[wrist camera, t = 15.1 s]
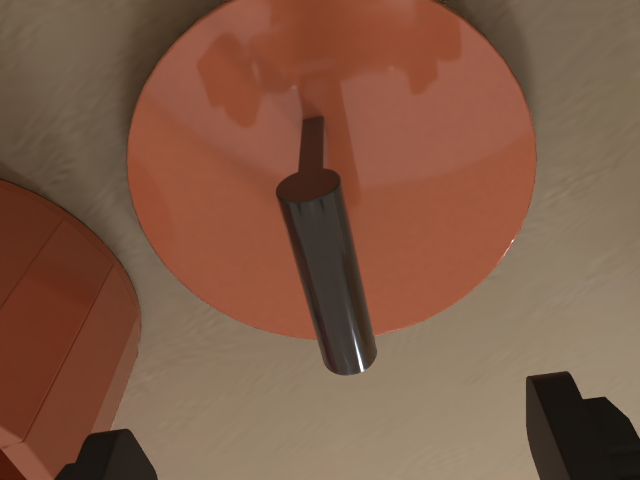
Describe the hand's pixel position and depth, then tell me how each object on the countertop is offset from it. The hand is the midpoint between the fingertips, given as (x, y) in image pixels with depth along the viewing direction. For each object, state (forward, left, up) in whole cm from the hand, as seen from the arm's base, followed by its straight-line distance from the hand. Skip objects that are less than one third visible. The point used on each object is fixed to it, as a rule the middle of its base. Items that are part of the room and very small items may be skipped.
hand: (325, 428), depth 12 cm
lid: (0, 0, -10) cm, 10 cm away
